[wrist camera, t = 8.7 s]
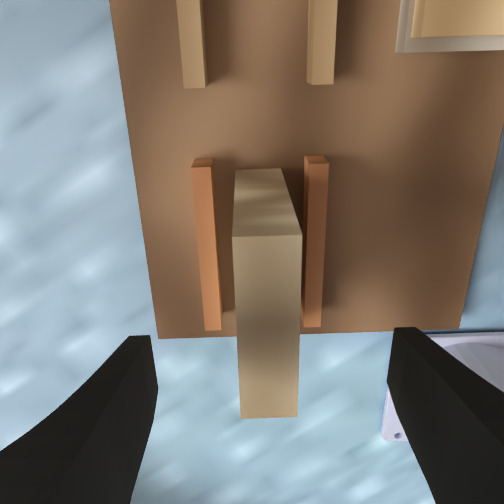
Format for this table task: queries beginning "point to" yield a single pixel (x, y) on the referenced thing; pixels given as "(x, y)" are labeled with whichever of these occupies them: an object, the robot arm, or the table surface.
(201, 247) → the rack
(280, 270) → the birch board
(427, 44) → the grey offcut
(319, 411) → the table surface
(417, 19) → the oak offcut
